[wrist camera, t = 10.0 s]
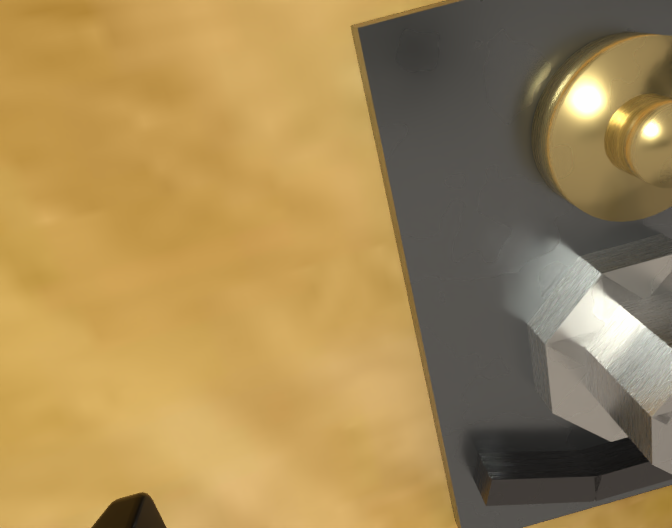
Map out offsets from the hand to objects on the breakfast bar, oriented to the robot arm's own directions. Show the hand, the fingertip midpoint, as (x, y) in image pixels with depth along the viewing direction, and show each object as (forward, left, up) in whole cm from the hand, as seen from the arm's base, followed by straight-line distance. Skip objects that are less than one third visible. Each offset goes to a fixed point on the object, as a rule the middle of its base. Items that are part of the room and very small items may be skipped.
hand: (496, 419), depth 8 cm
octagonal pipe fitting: (-8, +8, -11) cm, 16 cm away
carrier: (-8, +6, -12) cm, 16 cm away
